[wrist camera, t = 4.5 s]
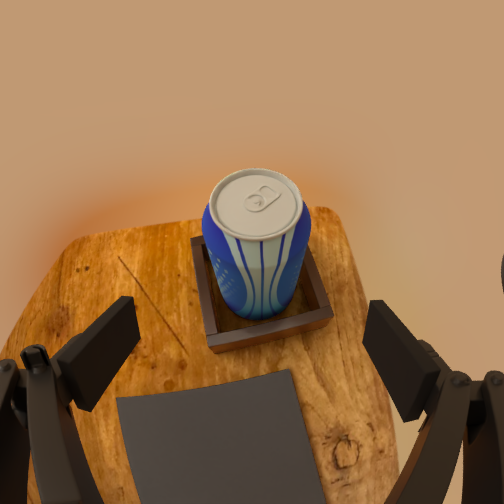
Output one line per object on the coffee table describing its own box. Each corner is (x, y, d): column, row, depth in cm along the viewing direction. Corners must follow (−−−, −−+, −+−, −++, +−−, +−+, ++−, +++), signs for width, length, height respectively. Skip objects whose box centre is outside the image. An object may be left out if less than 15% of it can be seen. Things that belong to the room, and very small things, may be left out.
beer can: (297, 319, 31) (328, 245, 18) (223, 326, 31) (194, 257, 17) (287, 255, 36) (302, 157, 22) (220, 261, 35) (198, 165, 22)
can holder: (326, 326, 31) (334, 315, 27) (214, 354, 30) (208, 347, 26) (293, 234, 37) (296, 215, 34) (196, 255, 36) (189, 238, 33)
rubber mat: (330, 520, 19) (331, 521, 18) (158, 542, 17) (156, 543, 16) (288, 369, 29) (289, 368, 28) (117, 397, 27) (115, 397, 26)
